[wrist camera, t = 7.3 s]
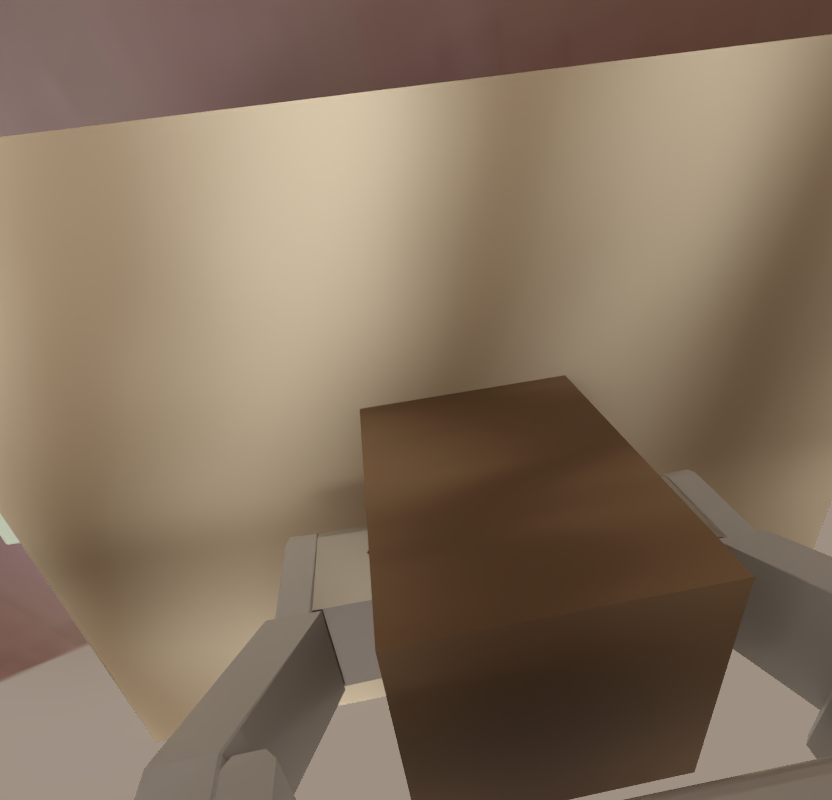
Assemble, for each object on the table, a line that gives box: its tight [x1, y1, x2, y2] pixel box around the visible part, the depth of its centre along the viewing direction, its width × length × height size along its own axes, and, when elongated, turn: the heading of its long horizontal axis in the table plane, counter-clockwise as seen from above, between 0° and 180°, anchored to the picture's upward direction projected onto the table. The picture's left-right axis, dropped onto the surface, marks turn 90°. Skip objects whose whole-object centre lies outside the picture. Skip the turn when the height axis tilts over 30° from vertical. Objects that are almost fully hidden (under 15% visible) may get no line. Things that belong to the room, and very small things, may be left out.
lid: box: [0, 34, 832, 800], centre depth 9 cm, size 18×14×6 cm
